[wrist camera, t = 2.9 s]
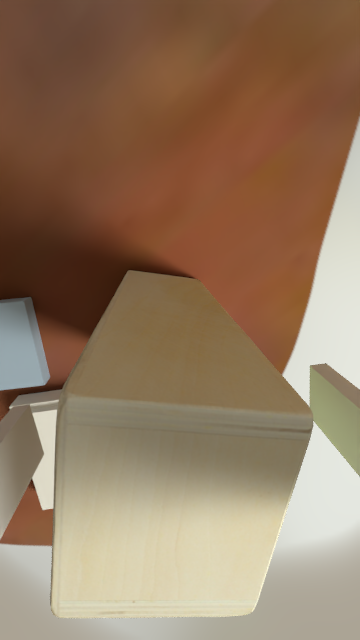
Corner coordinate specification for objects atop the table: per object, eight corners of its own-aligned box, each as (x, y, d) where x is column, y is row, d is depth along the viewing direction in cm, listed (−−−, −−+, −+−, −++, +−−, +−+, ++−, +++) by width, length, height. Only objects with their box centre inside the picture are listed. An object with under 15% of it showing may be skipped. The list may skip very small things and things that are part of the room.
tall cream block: (194, 359, 30) (274, 623, 10) (119, 351, 29) (40, 623, 9) (208, 280, 28) (347, 412, 8) (127, 269, 27) (48, 385, 7)
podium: (18, 395, 30) (4, 411, 27) (140, 378, 30) (139, 392, 27) (48, 491, 33) (38, 514, 30) (157, 474, 34) (157, 495, 31)
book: (-24, 301, 27) (-38, 306, 25) (33, 295, 27) (23, 300, 25) (-1, 381, 29) (-12, 391, 28) (51, 375, 30) (44, 385, 28)
